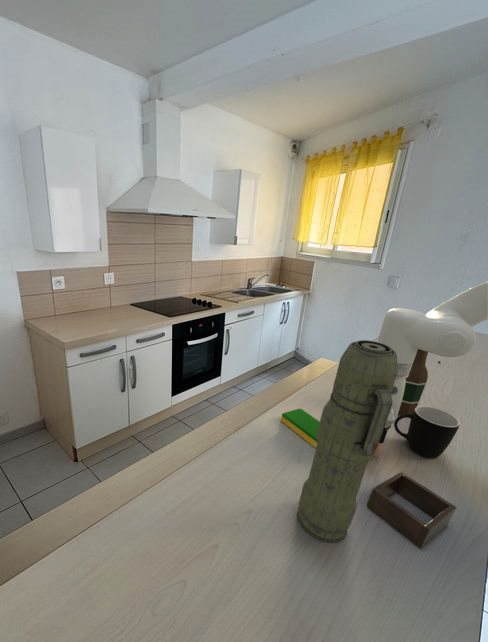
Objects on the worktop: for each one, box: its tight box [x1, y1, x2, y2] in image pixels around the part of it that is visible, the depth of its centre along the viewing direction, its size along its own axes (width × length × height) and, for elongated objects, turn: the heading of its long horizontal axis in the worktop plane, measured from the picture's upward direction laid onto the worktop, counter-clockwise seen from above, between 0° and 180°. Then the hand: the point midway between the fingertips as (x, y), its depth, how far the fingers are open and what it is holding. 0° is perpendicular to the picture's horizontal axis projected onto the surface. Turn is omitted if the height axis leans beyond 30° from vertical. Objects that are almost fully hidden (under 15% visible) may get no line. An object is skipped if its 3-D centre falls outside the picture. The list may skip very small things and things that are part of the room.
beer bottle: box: [398, 349, 429, 416], centre depth 94 cm, size 8×8×24 cm
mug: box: [393, 405, 461, 459], centre depth 80 cm, size 12×9×10 cm
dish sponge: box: [280, 408, 320, 449], centre depth 85 cm, size 7×14×2 cm, turn 28°
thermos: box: [296, 339, 398, 544], centre depth 53 cm, size 9×12×35 cm
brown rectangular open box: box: [366, 471, 457, 549], centre depth 61 cm, size 10×10×4 cm
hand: (369, 429), depth 78 cm, fingers open, 9 cm apart
